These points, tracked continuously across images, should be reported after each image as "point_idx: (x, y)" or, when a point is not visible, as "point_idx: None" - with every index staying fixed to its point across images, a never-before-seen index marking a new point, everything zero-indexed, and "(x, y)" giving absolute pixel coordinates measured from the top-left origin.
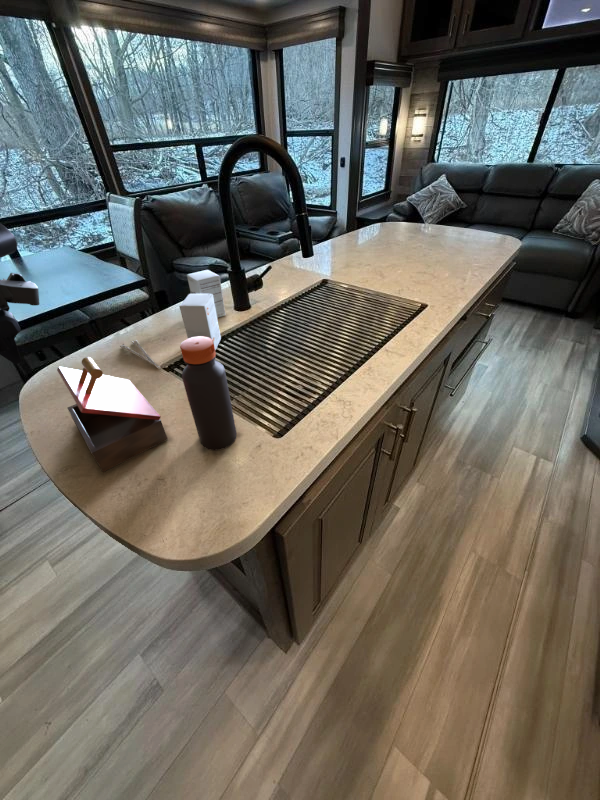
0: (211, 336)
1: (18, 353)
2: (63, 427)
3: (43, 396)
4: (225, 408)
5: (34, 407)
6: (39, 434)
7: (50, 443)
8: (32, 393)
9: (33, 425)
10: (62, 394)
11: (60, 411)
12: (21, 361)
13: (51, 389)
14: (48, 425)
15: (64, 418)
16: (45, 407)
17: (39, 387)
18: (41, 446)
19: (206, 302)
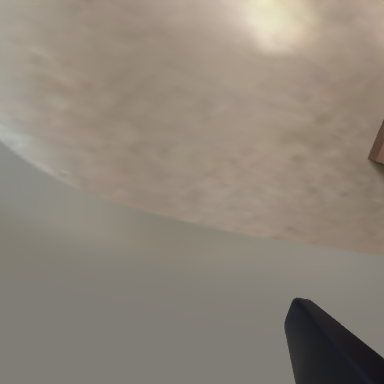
0: None
1: (380, 361)
2: (332, 185)
3: (126, 160)
4: None
5: (166, 198)
6: (301, 232)
7: (360, 229)
8: (79, 175)
9: (250, 229)
10: (164, 115)
11: (253, 160)
12: (317, 306)
13: (101, 126)
14: (286, 206)
15: (296, 167)
16: (193, 179)
17: (56, 147)
18: (350, 245)
19: None
